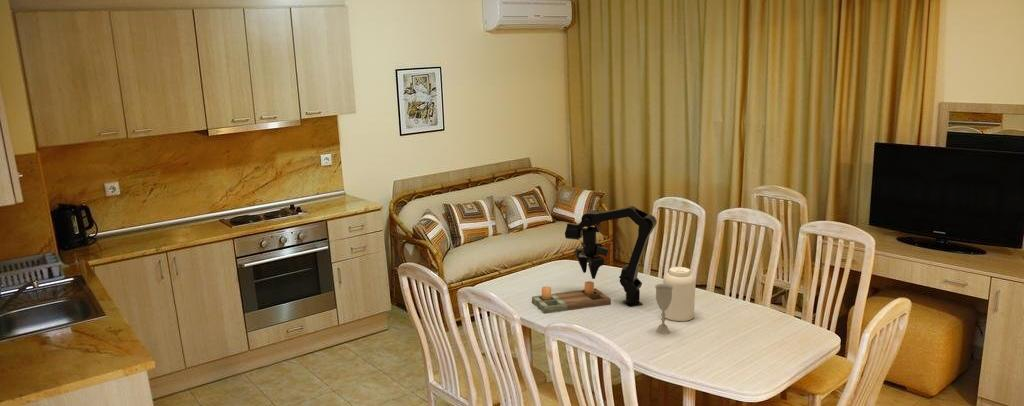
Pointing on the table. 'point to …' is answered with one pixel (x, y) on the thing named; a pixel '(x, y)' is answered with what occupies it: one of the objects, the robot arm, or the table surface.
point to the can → (680, 294)
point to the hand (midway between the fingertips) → (589, 275)
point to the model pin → (546, 293)
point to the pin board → (571, 301)
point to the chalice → (663, 303)
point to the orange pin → (589, 288)
